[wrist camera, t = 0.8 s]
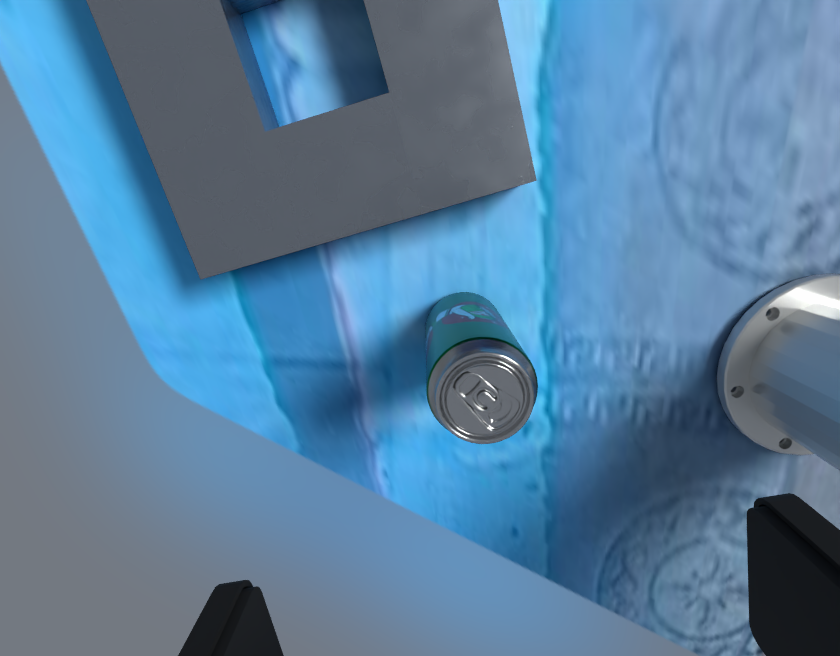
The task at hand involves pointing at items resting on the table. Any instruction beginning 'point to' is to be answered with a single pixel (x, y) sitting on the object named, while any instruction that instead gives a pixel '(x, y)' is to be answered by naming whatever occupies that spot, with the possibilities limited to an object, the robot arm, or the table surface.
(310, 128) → the bore block
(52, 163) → the table surface
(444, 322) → the soda can
